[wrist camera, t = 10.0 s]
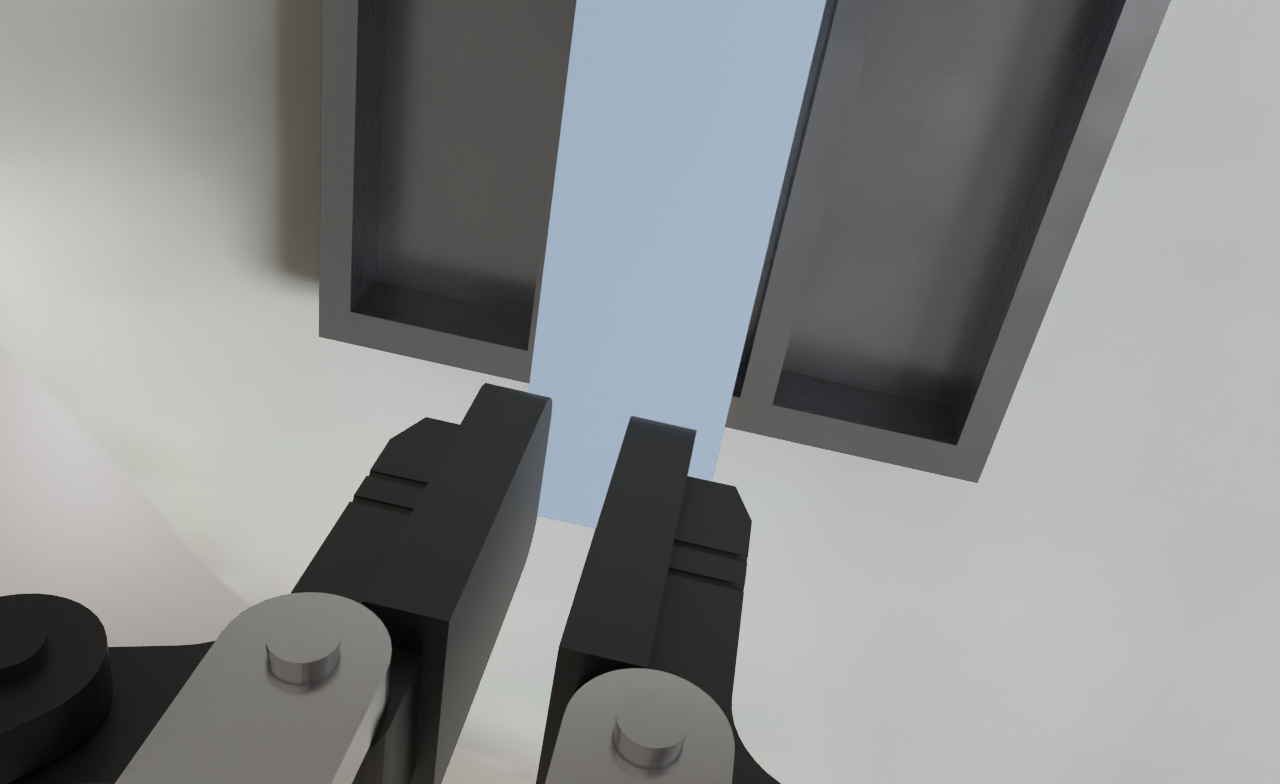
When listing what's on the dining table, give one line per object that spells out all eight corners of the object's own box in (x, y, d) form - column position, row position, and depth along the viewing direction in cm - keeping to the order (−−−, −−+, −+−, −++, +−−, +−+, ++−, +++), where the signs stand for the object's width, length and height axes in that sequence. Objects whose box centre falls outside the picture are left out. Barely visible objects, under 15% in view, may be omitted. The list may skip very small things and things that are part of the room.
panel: (673, -141, 20) (586, -81, 13) (835, -109, 20) (834, -32, 13) (603, 298, 25) (514, 509, 18) (735, 326, 25) (694, 550, 18)
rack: (372, -261, 20) (312, -262, 18) (1171, -106, 20) (1215, -86, 17) (356, 294, 26) (309, 347, 24) (967, 429, 26) (979, 496, 23)
